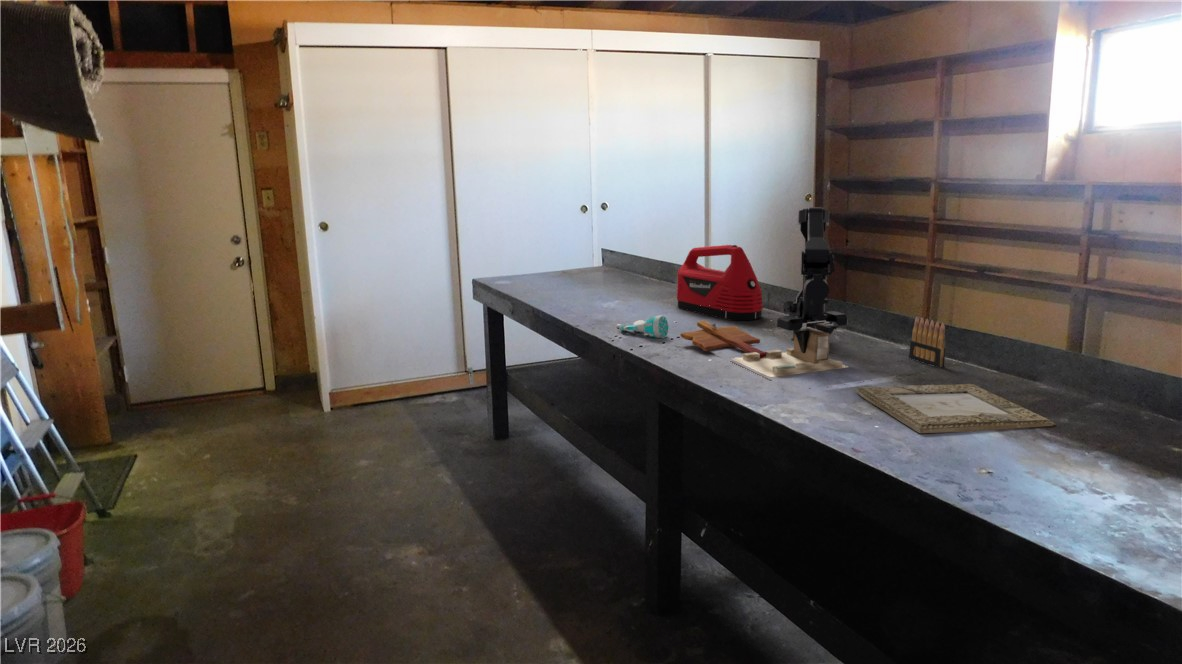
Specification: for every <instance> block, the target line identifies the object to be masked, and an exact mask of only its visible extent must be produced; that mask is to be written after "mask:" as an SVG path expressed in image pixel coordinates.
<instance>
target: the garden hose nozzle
mask: <svg viewBox="0 0 1182 664" xmlns="http://www.w3.org/2000/svg"><path fill="white" fill-rule="evenodd" d="M616 327H617V329H619V330H620V331H635V332H641V333H644V334H646V335H648V336H649V337H651V338H654V339H655V338H657V339H665V338H666V337H667V335H668V333H669V322H668V319H667V317H666V316H665V315H656V316H652V317H649V318H648V319H647V320H642V319H640V320H636V321H634V322H633V324H632V325H628V324H620V323H617V324H616Z"/></svg>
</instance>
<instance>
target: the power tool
mask: <svg viewBox="0 0 1182 664" xmlns="http://www.w3.org/2000/svg"><path fill="white" fill-rule="evenodd" d="M714 256H730V264H729V265H728V267H726V269H725V270H722V269H721V270H720V269H715V268H708V267H706V266H703V265H702V264H699V263H698V259H699V258H700V257H701V258H702V257H704V258H705V257H714ZM676 278H677V280H676V281H677V283H676V284H677V285H676V288H677V289H676V300H677V308H678V307H679V308H678V309H681V308H683V309H682V310H685V309H688V310H687V311H689V310H691V311H690V312H693V311H696V312H695V313H698V312H700V313H699V314H702V313H704V314H703V315H706V314H708V315H707V316H710V315H713V316H712V317H714V316H717V317H716V318H719V317H721V318H720V319H723V318H726V319H725V320H728V319H730V320H729V321H753V319H754V320H757V319H758V318H759V319H760V318H761V317H762V311H763V310H764V307H763V304H764V303H763V294H762V293H763V292H762V288H761V285H760V283H759V280H758V278H757V276H756V273H755V271H754V268H753V266H752V264H751V262H750V260H749V259H748V256H747V255H746V253H745V251H744V249H743V247H740V246H738V245H736V244H733V245H732V244H724V245H716V246H715V245H712V246H711V245H710V246H699V247H694V248H692V249H691V250H689V252H688V254H687V256H686V258H685V260H684V262H683V264H682V265H681V266H680V267H679V268H678V270H677V276H676ZM700 305H701V306H700ZM709 305H710V306H709ZM721 309H722V310H721Z"/></svg>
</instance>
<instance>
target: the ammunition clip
mask: <svg viewBox="0 0 1182 664" xmlns="http://www.w3.org/2000/svg"><path fill="white" fill-rule="evenodd" d="M924 321H925V322H924ZM945 327H946V326H945V323H944V322H942V323H941V325H940V322H939V320H937V321H935V322H934V320H933V319H931V321H929V319H928V318H926V319H925V320H924V317H921V318H919V316H916V317H915V320H914V323H913V328H912V334H911V335H912V337H911V340H910V343H909V350H908V351H909V352H908V359H909V358H911V359H910V360H912V359H915V360H918V361H921V362H924V363H927V364H926V365H928V364H931V365H934V366H937V367H942V366H944V367H945V359H946V348H945V343H946V336H945V333H946V328H945ZM915 360H914V361H915ZM918 361H917V362H918ZM921 362H920V363H921ZM924 363H923V364H924ZM931 365H930V366H931ZM934 366H933V367H934ZM937 367H936V368H937ZM942 368H943V367H942Z"/></svg>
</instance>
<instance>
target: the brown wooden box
mask: <svg viewBox="0 0 1182 664" xmlns="http://www.w3.org/2000/svg"><path fill="white" fill-rule="evenodd" d="M806 329H808V330H810V332H809V337H808V343H807V348H806V351H805V353H802V352H801V349H800V346H799V343H798V340H797V337H796V335H794V341H793V348H794V354H793V357H795V358H797V359H800V360H802V361H805V362H810V363H813V364H818V363H819V361H822V360H828V359H829V355H830V354H829V353H830V339H831V335H830V334H829V333H826V332H823V331H820V330H817V329H813V328H810V327H806Z"/></svg>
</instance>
